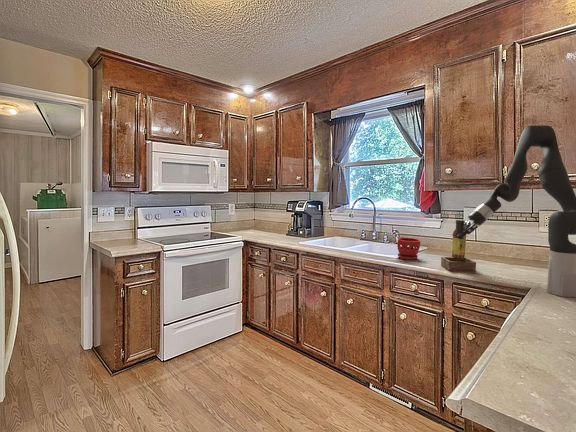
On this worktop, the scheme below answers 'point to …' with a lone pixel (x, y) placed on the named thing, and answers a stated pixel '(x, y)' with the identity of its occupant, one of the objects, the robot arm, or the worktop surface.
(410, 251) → the plant pot
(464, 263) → the brown wooden tray
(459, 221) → the sauce bottle
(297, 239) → the worktop surface
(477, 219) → the robot arm
